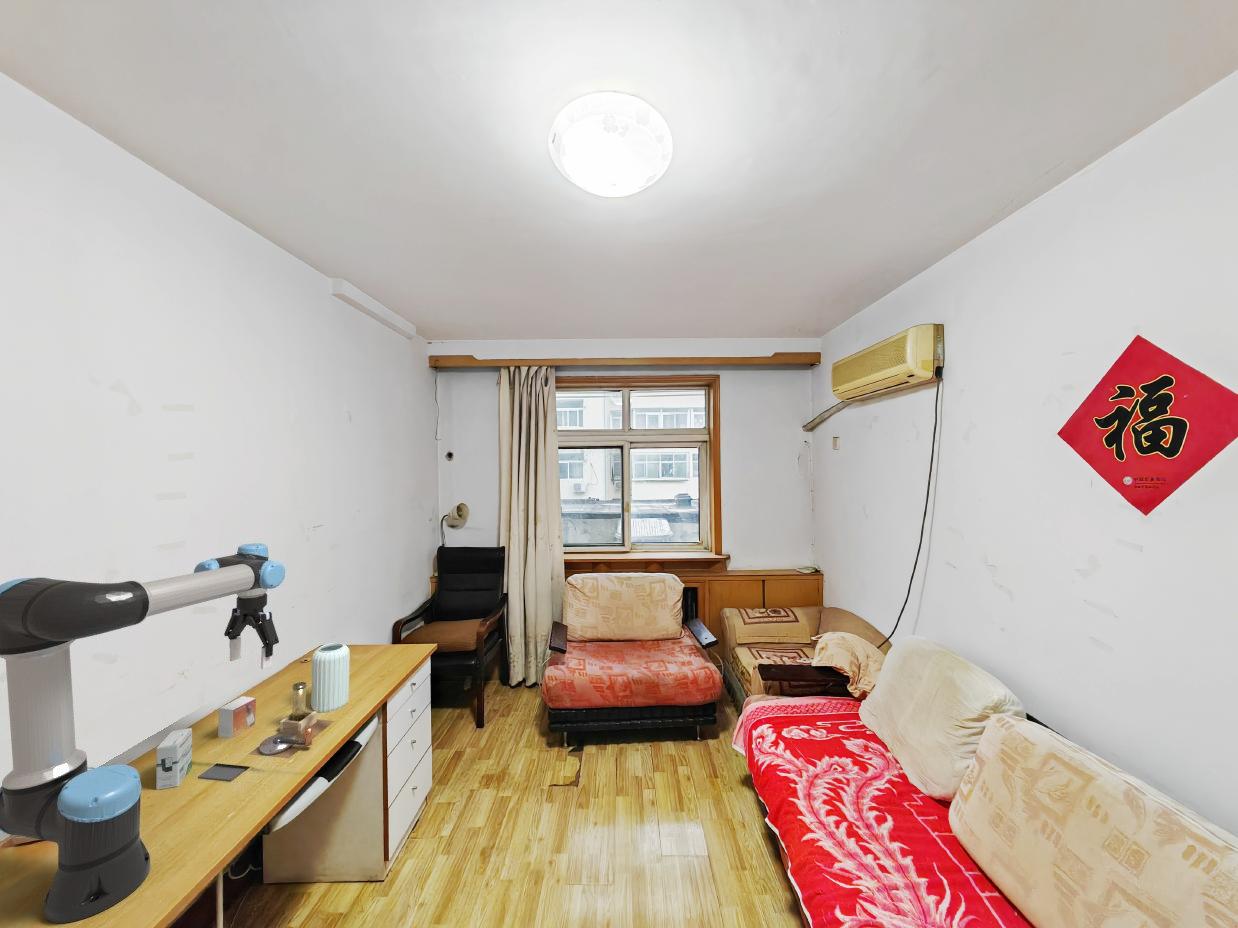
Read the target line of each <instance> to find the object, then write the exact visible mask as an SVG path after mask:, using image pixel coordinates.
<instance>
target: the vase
mask: <svg viewBox="0 0 1238 928" xmlns="http://www.w3.org/2000/svg"><path fill="white" fill-rule="evenodd" d="M350 653H351V651H350V648H349V647H348V646H347V645H346V644H343V643H341V642H331V643H327V644H324V645H321V646H319V647H318V648H317V649H316V650H315V651H314V652H313V654H312V657H311V659H312V660H311V696H310V697H311V701H310V705H311V708H312V711H317V713H327V712H329V713H330V712H334V711H336V710H339V709H340V708H343V707H344V706H346V704H348V702H349V699H350V697H349V696H350V695H349V694H350V660H351V659H350V655H351V654H350Z"/></svg>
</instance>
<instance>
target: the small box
mask: <svg viewBox="0 0 1238 928" xmlns="http://www.w3.org/2000/svg"><path fill="white" fill-rule="evenodd" d="M256 704H257V699H256V698H255V697H249V696H244V695H242V696H240V697H238V698H236V699H234V700H232V701H231V702H229V703H226V704H225V705H222V706H220V707H219V708H218V730H217V731H218V733H217V734H218V735H217V738H219V737H221V738H226V739H234V738H237V736H239V735H241V734H243V733H244V732H246V731H247V730H250V729H251V728H253V727H254V726H256V710H257V709H256V707H257V706H256Z"/></svg>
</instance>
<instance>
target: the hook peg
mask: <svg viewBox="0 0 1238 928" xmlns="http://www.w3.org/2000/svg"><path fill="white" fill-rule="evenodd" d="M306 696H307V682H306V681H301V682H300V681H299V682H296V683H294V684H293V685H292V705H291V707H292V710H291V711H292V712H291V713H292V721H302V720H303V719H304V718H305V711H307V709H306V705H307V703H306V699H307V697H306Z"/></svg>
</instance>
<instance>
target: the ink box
mask: <svg viewBox="0 0 1238 928" xmlns="http://www.w3.org/2000/svg"><path fill="white" fill-rule="evenodd" d="M155 753H156V757H155V758H156V771H155V772H156V775H155V777H156V778H155V779H156V781H155V782H156V786H155V787H156V791H157V790H164V789H170V788H176V787H179V785H180V784H181V783H182V782H183V781H184V779H185V777H186V776H187V775H188V773H189V772H190V770H191V769H192V767H193V728H191V727H190V728H182V729H176V730H172V731H171V732H169V734H168V735H167V736H166V737H165V738H164V739H163V740H162V742H160V744H159V745H158V746H157V747H156V752H155Z"/></svg>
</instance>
